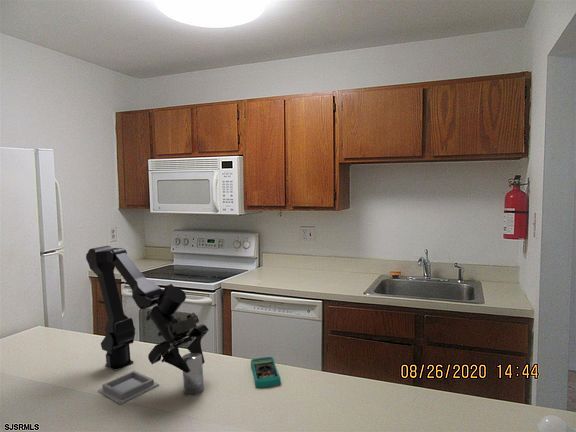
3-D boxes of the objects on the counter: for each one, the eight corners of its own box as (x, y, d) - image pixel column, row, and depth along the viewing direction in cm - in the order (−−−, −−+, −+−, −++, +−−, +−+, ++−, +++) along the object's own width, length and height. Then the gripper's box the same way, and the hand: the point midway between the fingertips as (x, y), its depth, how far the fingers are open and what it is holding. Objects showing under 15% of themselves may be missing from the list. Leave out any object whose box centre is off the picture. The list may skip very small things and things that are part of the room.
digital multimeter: (255, 390, 116) (255, 380, 116) (250, 366, 131) (250, 357, 130) (281, 386, 117) (280, 377, 117) (273, 363, 132) (273, 355, 132)
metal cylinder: (195, 383, 120) (193, 350, 119) (208, 389, 117) (205, 355, 116) (180, 391, 116) (177, 358, 115) (192, 397, 112) (190, 362, 111)
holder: (135, 374, 127) (135, 368, 127) (158, 385, 120) (158, 379, 120) (98, 391, 118) (97, 385, 118) (120, 404, 110) (120, 397, 110)
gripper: (151, 317, 108) (184, 366, 103) (202, 297, 124) (232, 339, 119) (135, 340, 113) (165, 388, 108) (185, 319, 129) (213, 360, 124)
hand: (196, 367), depth 115 cm, fingers closed on metal cylinder, 5 cm apart
